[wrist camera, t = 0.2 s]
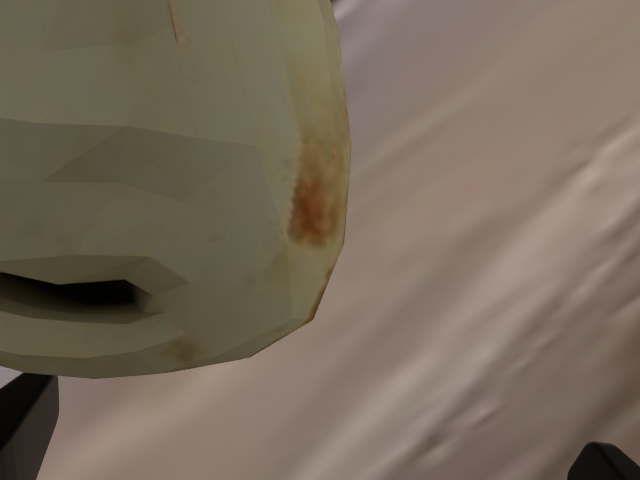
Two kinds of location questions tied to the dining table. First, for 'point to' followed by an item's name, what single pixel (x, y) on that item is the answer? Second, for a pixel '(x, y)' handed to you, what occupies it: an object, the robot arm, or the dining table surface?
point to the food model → (166, 180)
